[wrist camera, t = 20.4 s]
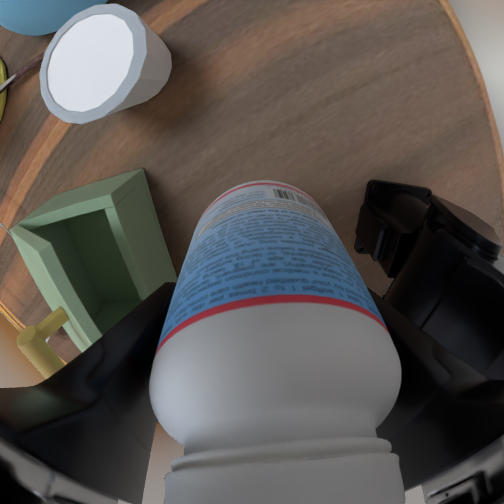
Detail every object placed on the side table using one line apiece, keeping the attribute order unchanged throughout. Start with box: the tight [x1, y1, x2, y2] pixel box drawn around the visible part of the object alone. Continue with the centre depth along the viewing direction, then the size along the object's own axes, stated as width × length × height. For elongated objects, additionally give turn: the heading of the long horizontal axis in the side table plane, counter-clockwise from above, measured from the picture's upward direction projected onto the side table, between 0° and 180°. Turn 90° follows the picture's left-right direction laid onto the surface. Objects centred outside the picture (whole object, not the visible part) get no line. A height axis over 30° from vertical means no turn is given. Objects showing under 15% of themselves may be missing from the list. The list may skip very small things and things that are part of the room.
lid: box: [10, 225, 102, 379], centre depth 14 cm, size 10×13×4 cm
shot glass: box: [40, 4, 172, 124], centre depth 12 cm, size 7×7×7 cm
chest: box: [17, 168, 178, 335], centre depth 20 cm, size 10×13×6 cm
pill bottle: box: [149, 180, 405, 504], centre depth 8 cm, size 6×6×11 cm
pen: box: [0, 52, 45, 94], centre depth 12 cm, size 11×1×1 cm, turn 103°
